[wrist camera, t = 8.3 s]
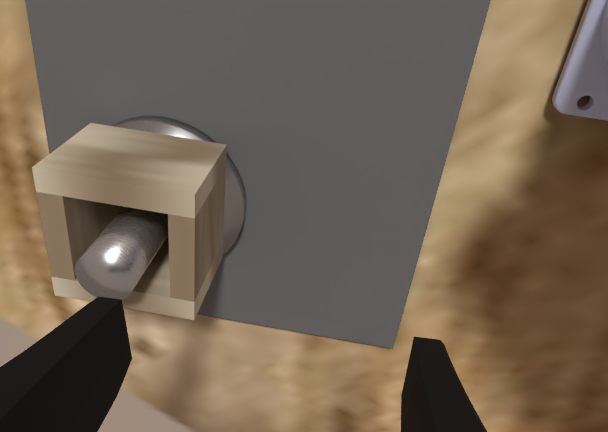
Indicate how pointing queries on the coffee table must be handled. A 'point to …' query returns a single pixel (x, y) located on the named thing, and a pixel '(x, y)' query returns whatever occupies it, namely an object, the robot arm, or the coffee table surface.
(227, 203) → the post
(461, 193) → the coffee table surface
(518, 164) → the coffee table surface
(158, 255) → the collar
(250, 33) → the mat
